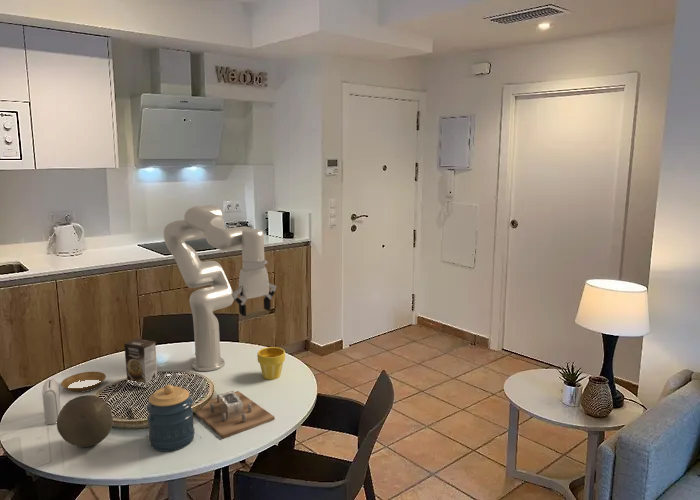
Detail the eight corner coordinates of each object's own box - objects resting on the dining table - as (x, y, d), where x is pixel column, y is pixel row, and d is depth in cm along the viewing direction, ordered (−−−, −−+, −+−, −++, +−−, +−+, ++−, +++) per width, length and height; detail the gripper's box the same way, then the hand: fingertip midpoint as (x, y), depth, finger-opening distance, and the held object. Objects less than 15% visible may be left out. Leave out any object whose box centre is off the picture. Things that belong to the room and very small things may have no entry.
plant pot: (288, 379, 202) (288, 354, 200) (261, 383, 198) (260, 358, 197) (281, 368, 212) (281, 345, 210) (255, 372, 208) (254, 348, 206)
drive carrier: (219, 406, 179) (218, 393, 178) (233, 403, 181) (233, 390, 180) (228, 419, 170) (227, 406, 169) (243, 416, 173) (242, 402, 172)
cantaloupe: (79, 431, 165) (74, 386, 162) (123, 434, 164) (119, 388, 161) (49, 457, 151) (44, 408, 149) (97, 460, 150) (92, 411, 147)
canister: (195, 448, 156) (191, 391, 153) (147, 455, 152) (142, 397, 149) (194, 426, 168) (191, 373, 165) (150, 432, 165) (146, 378, 161)
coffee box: (126, 385, 197) (123, 343, 194) (139, 378, 203) (136, 337, 200) (146, 389, 194) (142, 346, 191) (158, 382, 200) (155, 340, 197)
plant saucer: (51, 392, 192) (51, 385, 192) (83, 375, 206) (82, 369, 206) (85, 397, 188) (84, 390, 188) (115, 380, 202) (114, 374, 201)
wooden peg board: (189, 409, 179) (189, 399, 179) (238, 393, 191) (237, 384, 190) (223, 438, 161) (222, 428, 161) (274, 419, 173) (274, 409, 172)
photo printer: (46, 412, 177) (42, 376, 175) (61, 409, 179) (57, 374, 177) (44, 426, 168) (40, 389, 166) (60, 423, 170) (56, 386, 168)
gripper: (269, 260, 195) (270, 305, 198) (225, 266, 184) (228, 314, 188) (280, 263, 190) (281, 310, 193) (236, 270, 179) (238, 320, 182)
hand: (255, 312), depth 190 cm, fingers open, 9 cm apart
